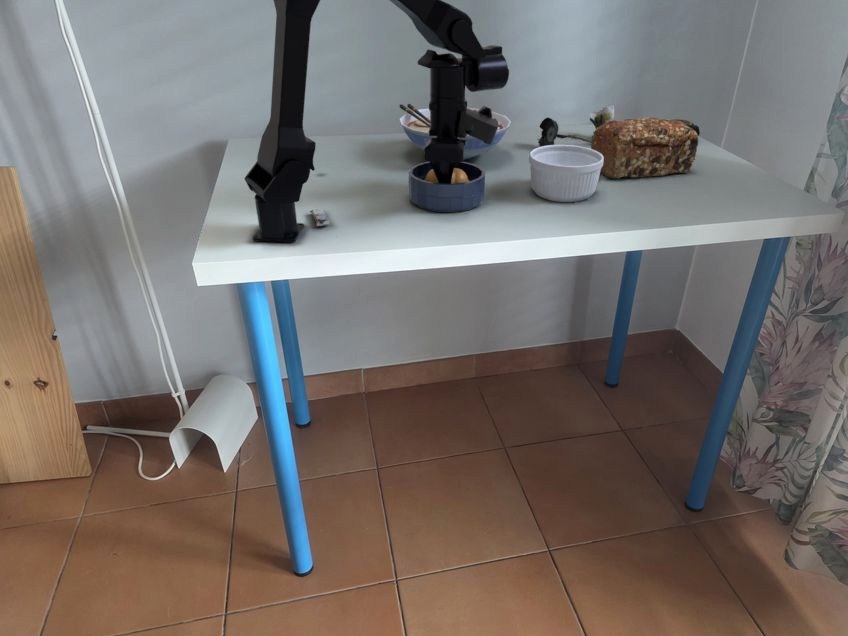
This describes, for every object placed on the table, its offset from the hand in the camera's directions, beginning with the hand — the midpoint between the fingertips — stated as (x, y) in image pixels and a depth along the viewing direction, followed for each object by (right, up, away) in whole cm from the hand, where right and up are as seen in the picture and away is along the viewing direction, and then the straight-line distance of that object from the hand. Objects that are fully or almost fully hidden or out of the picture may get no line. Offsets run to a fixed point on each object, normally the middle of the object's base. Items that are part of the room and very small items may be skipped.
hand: (446, 187), depth 118 cm
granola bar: (-20, -8, -8) cm, 23 cm away
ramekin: (+21, 0, +6) cm, 22 cm away
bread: (+39, +8, +18) cm, 44 cm away
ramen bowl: (+1, +12, +23) cm, 26 cm away
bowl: (0, -2, +1) cm, 2 cm away
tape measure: (+53, +20, +38) cm, 69 cm away
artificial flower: (+30, +18, +34) cm, 49 cm away
